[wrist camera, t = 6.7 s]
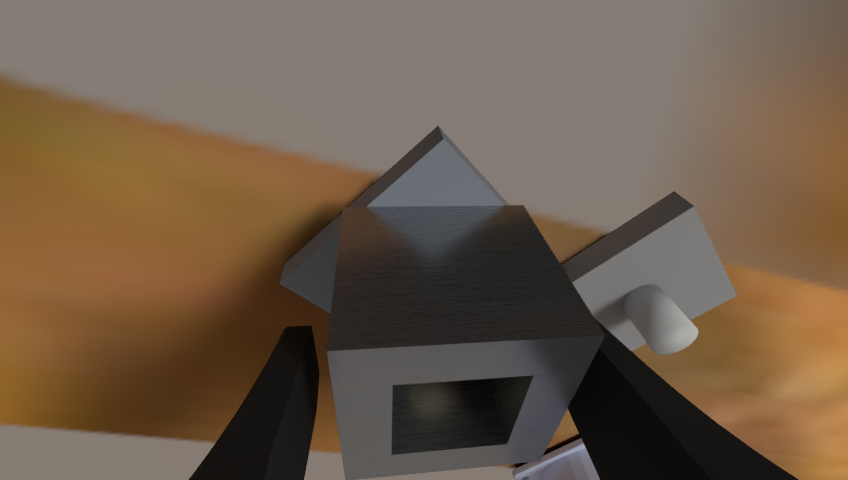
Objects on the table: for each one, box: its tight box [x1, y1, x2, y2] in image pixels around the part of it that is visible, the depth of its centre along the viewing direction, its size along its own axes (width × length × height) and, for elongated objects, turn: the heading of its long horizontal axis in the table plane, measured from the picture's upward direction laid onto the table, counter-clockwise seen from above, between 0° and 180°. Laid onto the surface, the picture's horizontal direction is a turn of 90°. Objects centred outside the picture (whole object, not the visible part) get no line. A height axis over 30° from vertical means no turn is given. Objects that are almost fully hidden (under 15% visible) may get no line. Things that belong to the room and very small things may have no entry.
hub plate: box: [279, 126, 509, 314], centre depth 12 cm, size 7×7×4 cm
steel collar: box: [327, 205, 605, 480], centre depth 11 cm, size 5×5×5 cm
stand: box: [561, 191, 737, 355], centre depth 14 cm, size 6×6×3 cm
